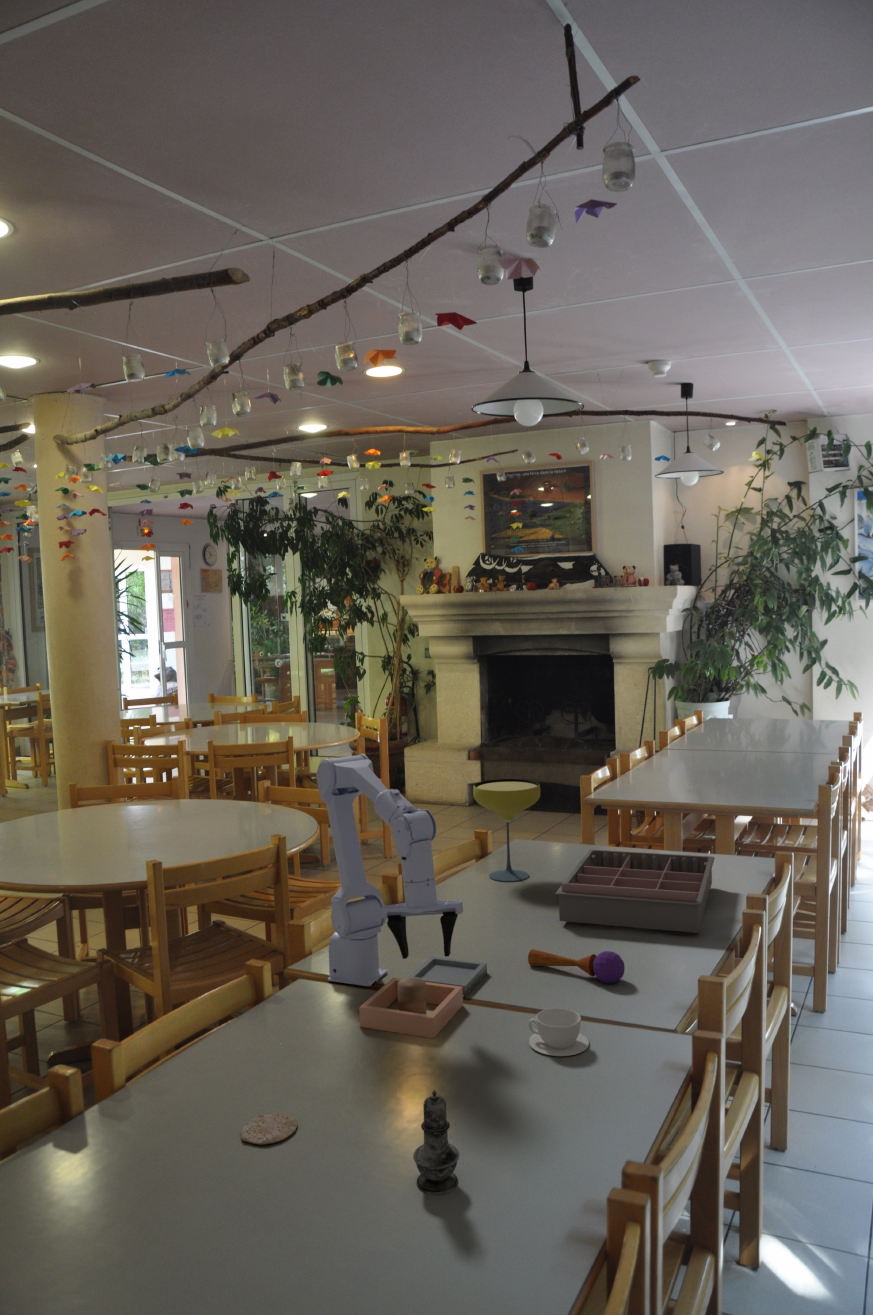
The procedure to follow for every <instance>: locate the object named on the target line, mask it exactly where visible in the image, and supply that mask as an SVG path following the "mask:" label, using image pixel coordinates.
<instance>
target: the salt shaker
mask: <svg viewBox="0 0 873 1315" xmlns="http://www.w3.org/2000/svg"><path fill="white" fill-rule="evenodd" d="M450 1126H451V1124H450V1122H449V1121H448V1120H447V1103H446V1099H445V1098H444V1097H442V1096H440V1095H439V1094H438V1092H437V1091H436V1089H434V1090H432V1092H431V1095H428V1097H426V1098H425V1099H424V1101H423V1122H422V1123H421V1126H420V1128H421V1130H422V1131H423V1144H421V1145H419V1146H418V1147H417V1148H416V1149H415V1150H414V1152H413V1156H412V1158H413V1161H414V1162H415V1166H416V1168H417V1170H418V1172H419V1175H418V1176H417V1179H416V1183H415V1184H416V1187H417V1188H418V1190H420V1191H421V1192H422V1193H425V1194H427V1195H432V1196H439V1195H441V1196H442V1195H446V1194H448V1193H450V1192H452V1191H454V1190H455V1189H457V1187H458V1184H459V1179H458V1177H457V1175H456V1173H454V1172H455V1170H456V1168H457V1164H458V1161H459V1159H460V1152H459V1149H458V1148H457V1147H456V1146H454V1145H453V1144H451V1143H449V1139H448V1138H449V1136H448V1130H449V1129H450Z"/></svg>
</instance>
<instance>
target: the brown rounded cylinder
mask: <svg viewBox="0 0 873 1315" xmlns="http://www.w3.org/2000/svg"><path fill="white" fill-rule="evenodd" d="M402 979H403V980H401V981H399V982H398V999H397V1002H398V1003H397V1004H398V1005H397V1006H398V1008H397V1010H399V1011H406V1012H413V1013H420V1014H427V1003H426V984H425V981H424V980H422V979H419V978H408V977H407V978H402Z"/></svg>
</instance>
